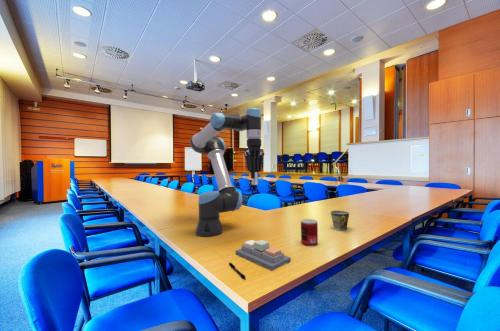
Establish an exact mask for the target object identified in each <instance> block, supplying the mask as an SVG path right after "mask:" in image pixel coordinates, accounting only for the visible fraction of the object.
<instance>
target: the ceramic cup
mask: <svg viewBox="0 0 500 331" xmlns="http://www.w3.org/2000/svg"><path fill="white" fill-rule="evenodd" d="M349 217H350V212H348V211H346V210H331V211H330V218H331V220H332V226H333V229H334V231H335V230H336V231H339V232H340V231H341V232H345V231H347V228H348V223H349Z"/></svg>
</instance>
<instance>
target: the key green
mask: <svg viewBox="0 0 500 331" xmlns="http://www.w3.org/2000/svg"><path fill="white" fill-rule="evenodd" d="M255 241H256V242H254V248H255V249H257V250H260V251H264V250H266V249H269V248H270V242H269V241H266V240H264V239H261V240H255Z"/></svg>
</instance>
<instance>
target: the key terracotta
mask: <svg viewBox="0 0 500 331" xmlns="http://www.w3.org/2000/svg"><path fill="white" fill-rule="evenodd" d="M281 252H282V250H281V249H280V248H276V247H269V249H266V250H265V254H267V255H269V256H272V257H275V256H278V255H280V254H281Z"/></svg>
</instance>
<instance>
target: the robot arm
mask: <svg viewBox="0 0 500 331" xmlns="http://www.w3.org/2000/svg"><path fill="white" fill-rule="evenodd" d="M225 129H226V130H234V131H236V132H244V131H246V139H247V140H246V147H247V149H246V151H244V152H243V155H244V158H245V163H246V164H245V165H246V168H247V171H248V172H249V173H250V178H251V185H252V186H257V185H258V183H259V182H258V178H259V172H260V171H262V168H263V167H262V166H263V160H264V156H265V152H262V149H261V147H262V139H261V138H262V112H261V109H260V108H258V107H249V108H247V109H246V111H245V115H236V114H228V113H223V112H213V113H211V115H210V118H209V123H208V124H207V125H205V126H204V128H202V129H201V130H200V131H199V132H198V133H195V134H193V135H192V136H191V138H190V140H189V141H190V142H189V144H190V147H191V149H192V150H193V151H194V152H195V153H198V154H204V155H205V154H206V156H207V158H208V159H210V162H211V166H212V170H213V174H214V177H215V180H216V181H215V182H216V184H217V188H218V190H211V191H205V192H202V193H200V194H199V195H198V201H197V202H198V221H197V225H196V229H195V235H196V236H197V237H198V236H199V237H215V236H219V235H221V234H223V231H224V228H223V225H222V223H221V219H220V213H221V214H222V213H228V212H234V211H235V212H236V211H238V210H239V209H241V207H242V205H243V194H242V193H241V192H240V191H238V190H237V188H236V187H235V186H234V185H233V184H232V180H231V178H230V175H229V172H228V167H227V164H226V162H225V159H224V158H225V157H224V155H225V152H226V143H225V141H224V139H223V138H222V137H217V135H218V134H219V133H221V132H222V131H224V130H225Z"/></svg>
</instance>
